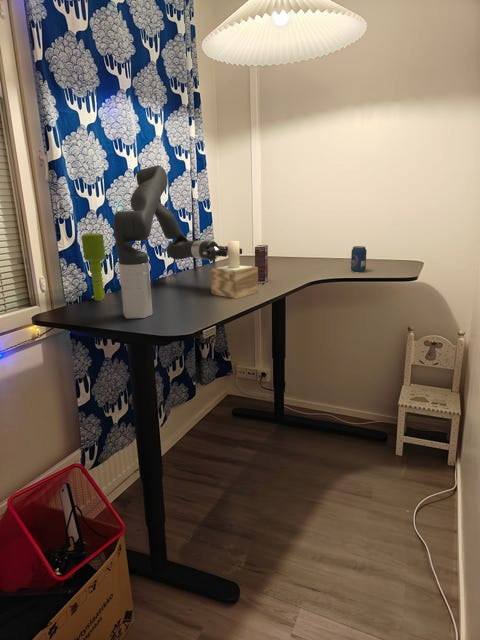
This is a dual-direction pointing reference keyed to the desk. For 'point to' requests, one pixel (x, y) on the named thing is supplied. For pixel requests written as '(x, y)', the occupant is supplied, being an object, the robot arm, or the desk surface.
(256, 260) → the supplement box
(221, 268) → the lid
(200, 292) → the desk surface
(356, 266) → the soda can
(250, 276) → the box
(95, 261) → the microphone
